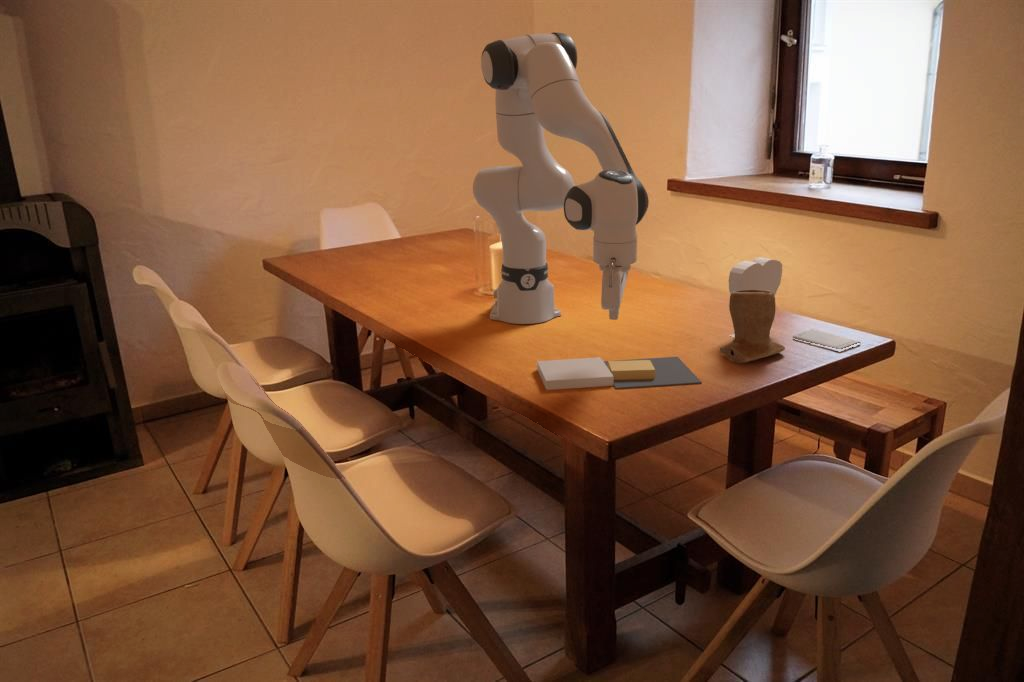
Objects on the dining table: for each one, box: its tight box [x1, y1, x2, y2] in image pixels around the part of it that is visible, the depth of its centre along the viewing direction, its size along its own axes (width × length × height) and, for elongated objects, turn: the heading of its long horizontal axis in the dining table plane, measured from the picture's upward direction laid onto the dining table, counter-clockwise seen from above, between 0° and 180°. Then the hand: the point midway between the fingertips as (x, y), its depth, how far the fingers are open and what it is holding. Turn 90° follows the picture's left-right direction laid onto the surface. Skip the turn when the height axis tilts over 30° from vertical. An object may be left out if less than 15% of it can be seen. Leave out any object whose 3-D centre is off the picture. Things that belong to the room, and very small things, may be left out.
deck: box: [536, 356, 614, 391], centre depth 176 cm, size 12×14×2 cm
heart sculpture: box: [728, 256, 783, 337], centre depth 200 cm, size 16×5×18 cm, turn 127°
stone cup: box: [719, 289, 786, 364], centre depth 185 cm, size 15×12×15 cm
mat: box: [603, 356, 703, 390], centre depth 178 cm, size 16×18×1 cm
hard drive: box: [792, 328, 861, 349], centre depth 195 cm, size 2×8×12 cm
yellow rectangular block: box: [607, 360, 655, 380], centre depth 177 cm, size 9×6×2 cm, turn 91°
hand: (614, 317), depth 174 cm, fingers closed
